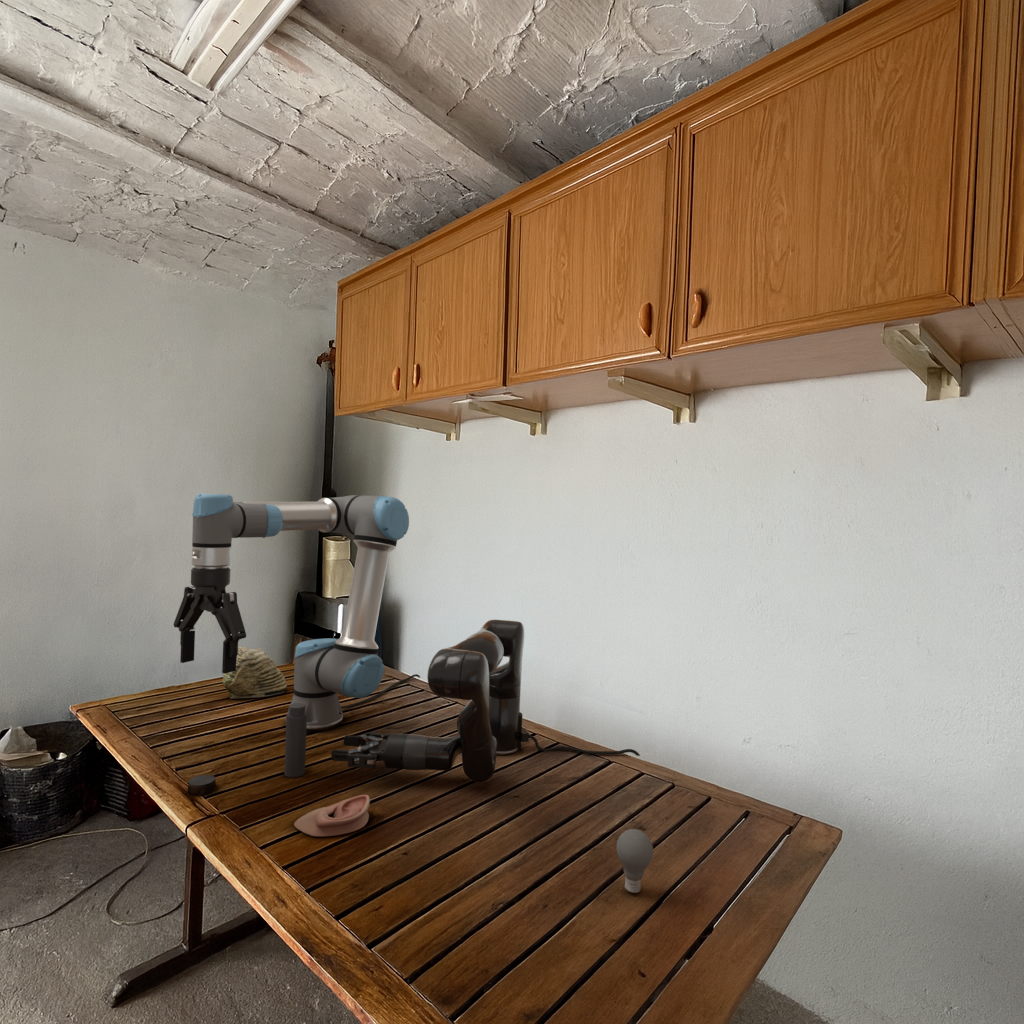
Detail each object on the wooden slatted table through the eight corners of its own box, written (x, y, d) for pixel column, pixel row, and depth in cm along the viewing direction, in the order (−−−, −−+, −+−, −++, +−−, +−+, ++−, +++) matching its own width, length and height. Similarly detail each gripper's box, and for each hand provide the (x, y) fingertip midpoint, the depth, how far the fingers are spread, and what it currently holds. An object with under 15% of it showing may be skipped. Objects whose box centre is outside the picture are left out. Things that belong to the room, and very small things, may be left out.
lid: (217, 783, 138) (217, 773, 138) (212, 794, 133) (213, 784, 133) (190, 785, 136) (191, 775, 136) (185, 796, 131) (185, 786, 131)
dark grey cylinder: (281, 776, 142) (283, 708, 142) (288, 768, 147) (291, 701, 146) (300, 777, 142) (303, 709, 142) (307, 769, 147) (310, 702, 146)
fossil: (218, 695, 195) (220, 647, 195) (278, 685, 208) (279, 640, 207) (228, 703, 189) (230, 653, 188) (289, 692, 201) (290, 645, 201)
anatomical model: (285, 811, 119) (316, 784, 130) (285, 832, 119) (316, 803, 130) (351, 821, 116) (377, 793, 127) (350, 842, 116) (376, 813, 128)
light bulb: (610, 879, 108) (613, 822, 108) (644, 879, 109) (647, 822, 109) (619, 902, 102) (622, 840, 102) (655, 901, 103) (658, 840, 103)
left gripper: (157, 562, 136) (154, 660, 137) (235, 573, 125) (231, 680, 125) (189, 560, 143) (186, 654, 143) (266, 570, 131) (262, 672, 132)
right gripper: (415, 724, 151) (348, 720, 151) (402, 747, 136) (328, 742, 137) (414, 755, 151) (347, 751, 151) (400, 782, 136) (326, 777, 137)
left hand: (207, 666), depth 134 cm, fingers open, 13 cm apart
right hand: (338, 747), depth 144 cm, fingers open, 8 cm apart
